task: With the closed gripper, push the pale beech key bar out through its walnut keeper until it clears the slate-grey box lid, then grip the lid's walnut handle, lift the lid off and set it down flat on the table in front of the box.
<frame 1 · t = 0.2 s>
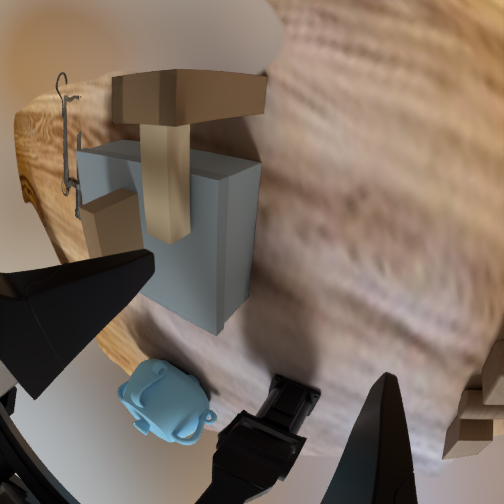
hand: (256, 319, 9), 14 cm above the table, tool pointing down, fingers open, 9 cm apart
lid: (143, 231, 26), point 5 cm above the table, touching toolbox
wooden key: (165, 165, 17), point 8 cm above the table, slide at 0.0 cm
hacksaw: (70, 145, 36), on the table
decorative pot: (184, 381, 50), on the table
toolbox: (178, 211, 29), on the table
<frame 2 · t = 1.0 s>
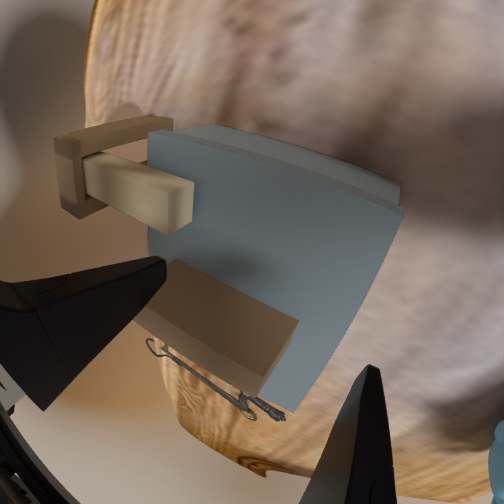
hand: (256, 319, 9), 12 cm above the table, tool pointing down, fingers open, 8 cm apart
lid: (240, 291, 19), point 5 cm above the table, touching toolbox
wooden key: (122, 184, 16), point 8 cm above the table, slide at 0.0 cm
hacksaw: (209, 377, 39), on the table
toolbox: (272, 256, 23), on the table
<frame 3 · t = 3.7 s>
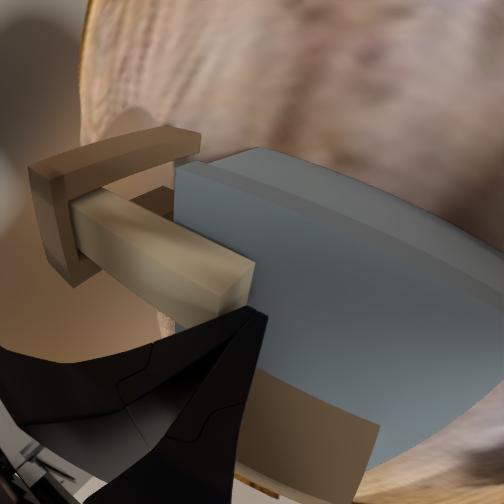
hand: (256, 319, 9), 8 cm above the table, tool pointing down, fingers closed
lid: (301, 382, 14), point 5 cm above the table, touching toolbox
wooden key: (131, 245, 11), point 8 cm above the table, slide at 0.3 cm, touching gripper
toolbox: (331, 323, 17), on the table
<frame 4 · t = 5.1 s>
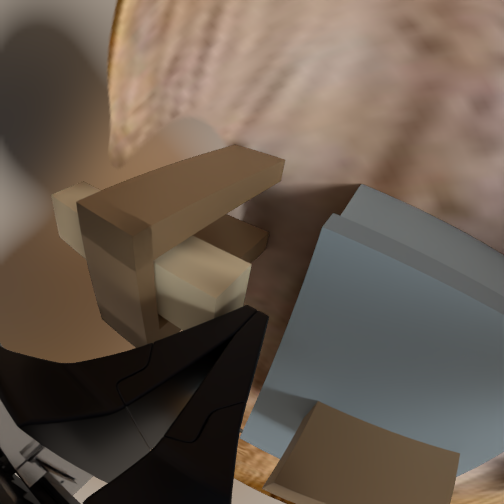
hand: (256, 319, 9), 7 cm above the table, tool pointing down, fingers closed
lid: (390, 423, 12), point 5 cm above the table, touching toolbox
wooden key: (128, 247, 11), point 8 cm above the table, slide at 5.9 cm, touching gripper
toolbox: (404, 359, 16), on the table
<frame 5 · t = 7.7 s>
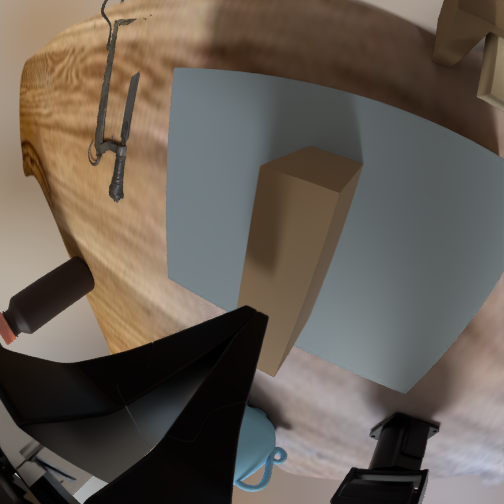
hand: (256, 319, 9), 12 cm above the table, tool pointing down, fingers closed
lid: (318, 234, 15), point 5 cm above the table, touching toolbox
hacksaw: (112, 90, 24), on the table
decorative pot: (240, 411, 40), on the table
bottle: (85, 272, 45), on the table
toolbox: (340, 204, 18), on the table
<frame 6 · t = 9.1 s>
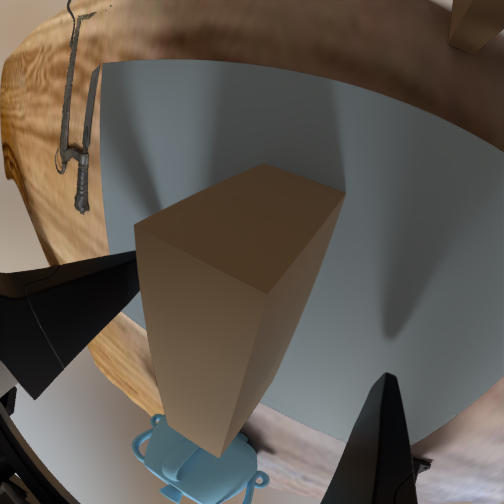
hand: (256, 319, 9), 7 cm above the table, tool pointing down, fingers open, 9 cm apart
lid: (284, 282, 11), point 5 cm above the table, touching toolbox
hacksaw: (76, 92, 20), on the table
decorative pot: (221, 432, 36), on the table
toolbox: (323, 230, 15), on the table
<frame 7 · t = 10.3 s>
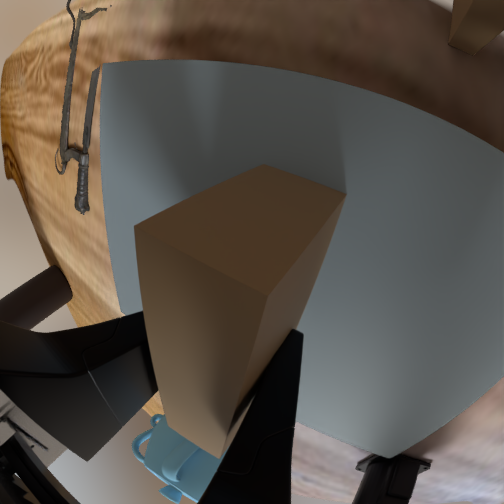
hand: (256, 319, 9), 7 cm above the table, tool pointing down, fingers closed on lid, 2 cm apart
lid: (284, 282, 11), point 5 cm above the table, touching gripper, toolbox
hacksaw: (75, 92, 20), on the table
decorative pot: (221, 432, 36), on the table
bottle: (63, 281, 41), on the table
toolbox: (323, 231, 15), on the table
when the fingers open (5 cm above the table, at t = 14.9 s): lid drops 2 cm, point 1 cm above the table.
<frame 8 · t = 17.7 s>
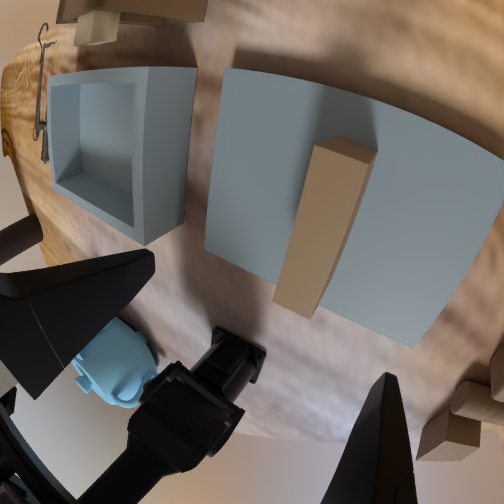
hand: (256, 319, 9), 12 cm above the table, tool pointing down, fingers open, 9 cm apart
lid: (340, 207, 18), point 1 cm above the table
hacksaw: (43, 90, 31), on the table
decorative pot: (133, 340, 47), on the table
bottle: (38, 226, 52), on the table
toolbox: (123, 133, 25), on the table
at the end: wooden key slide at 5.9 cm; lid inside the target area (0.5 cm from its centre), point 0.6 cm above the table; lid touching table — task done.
